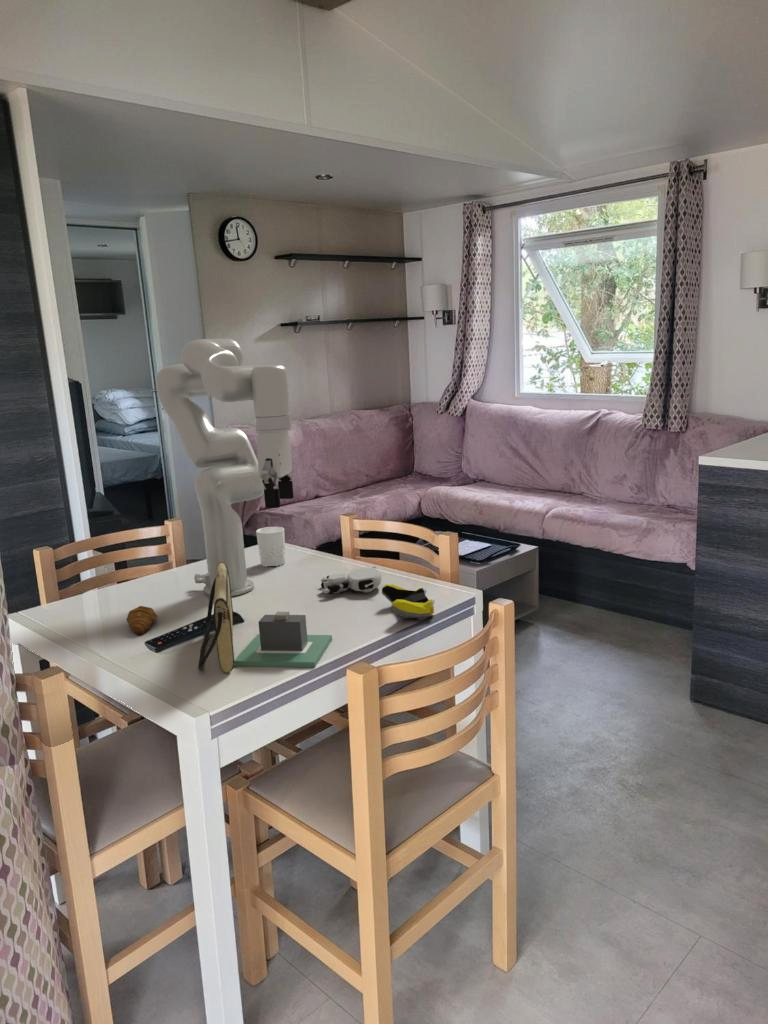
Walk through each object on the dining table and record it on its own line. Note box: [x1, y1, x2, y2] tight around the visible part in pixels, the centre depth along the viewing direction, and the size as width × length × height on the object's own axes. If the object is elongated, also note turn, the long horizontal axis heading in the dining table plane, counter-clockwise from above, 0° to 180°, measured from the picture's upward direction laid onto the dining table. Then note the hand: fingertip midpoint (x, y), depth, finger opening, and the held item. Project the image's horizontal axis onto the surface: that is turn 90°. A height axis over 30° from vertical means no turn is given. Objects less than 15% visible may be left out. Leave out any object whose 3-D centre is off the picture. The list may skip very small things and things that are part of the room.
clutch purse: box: [197, 562, 235, 674], centre depth 154 cm, size 30×7×15 cm, turn 11°
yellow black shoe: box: [381, 583, 436, 620], centre depth 171 cm, size 15×6×10 cm
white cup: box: [255, 526, 286, 567], centre depth 217 cm, size 8×8×10 cm
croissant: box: [125, 605, 158, 636], centre depth 172 cm, size 14×7×5 cm, turn 11°
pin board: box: [233, 633, 333, 668], centre depth 152 cm, size 16×14×4 cm
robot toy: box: [320, 565, 382, 595], centre depth 190 cm, size 12×4×15 cm
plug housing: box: [258, 611, 308, 651], centre depth 152 cm, size 8×4×7 cm, turn 80°
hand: (279, 502), depth 167 cm, fingers open, 9 cm apart
